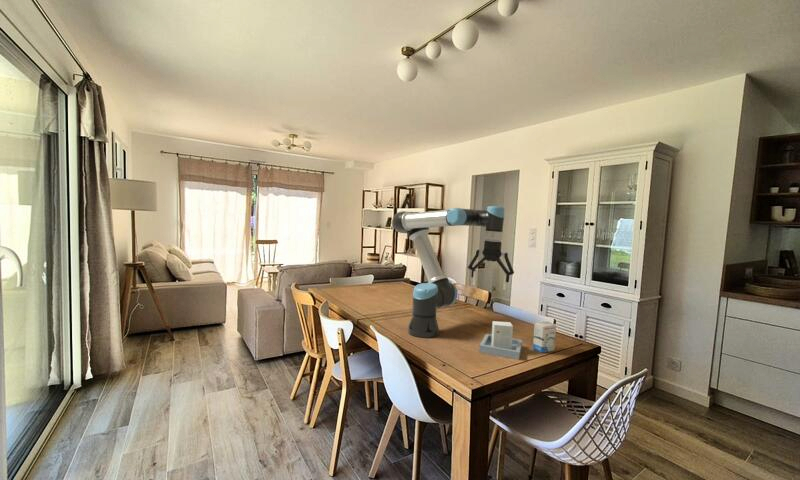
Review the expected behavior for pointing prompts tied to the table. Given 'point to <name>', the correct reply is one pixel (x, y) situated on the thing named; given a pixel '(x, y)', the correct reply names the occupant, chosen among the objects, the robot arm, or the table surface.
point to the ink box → (544, 337)
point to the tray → (489, 349)
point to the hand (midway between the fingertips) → (488, 286)
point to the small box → (502, 334)
